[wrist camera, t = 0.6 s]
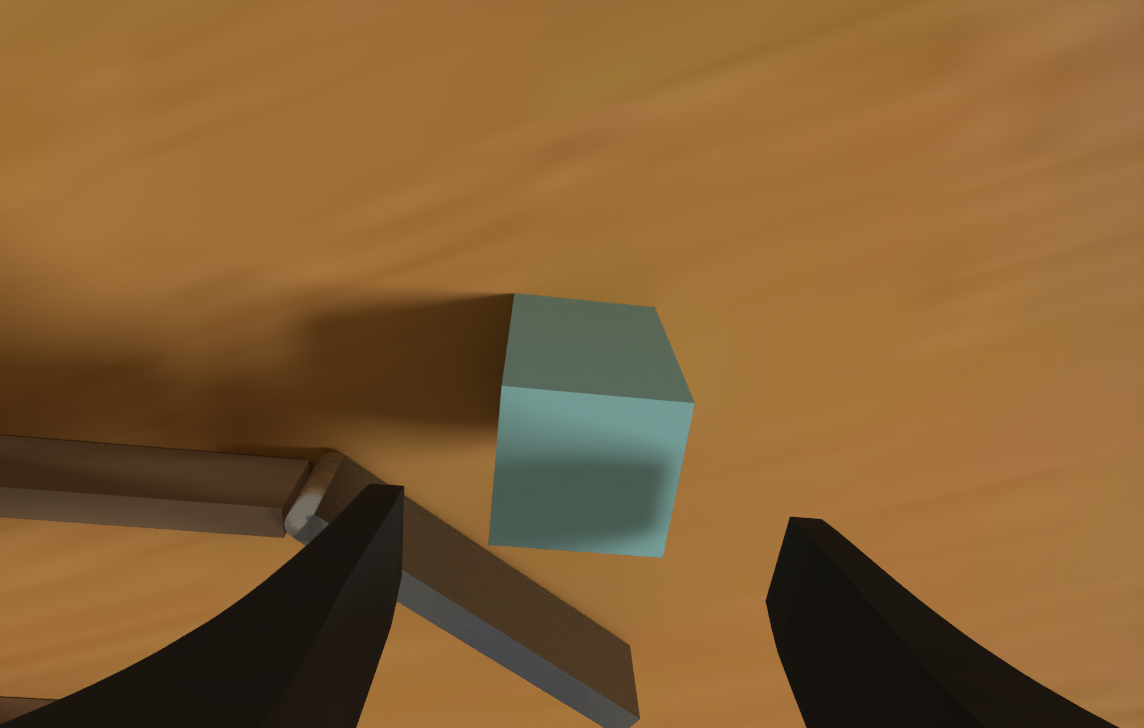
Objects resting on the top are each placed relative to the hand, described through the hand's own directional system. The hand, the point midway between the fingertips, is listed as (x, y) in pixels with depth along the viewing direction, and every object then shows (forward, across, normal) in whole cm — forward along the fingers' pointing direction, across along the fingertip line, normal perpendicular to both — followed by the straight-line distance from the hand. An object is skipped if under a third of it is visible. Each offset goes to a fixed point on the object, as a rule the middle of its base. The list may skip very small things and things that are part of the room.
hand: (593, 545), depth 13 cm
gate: (+8, +7, +4) cm, 12 cm away
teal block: (+8, 0, 0) cm, 8 cm away
